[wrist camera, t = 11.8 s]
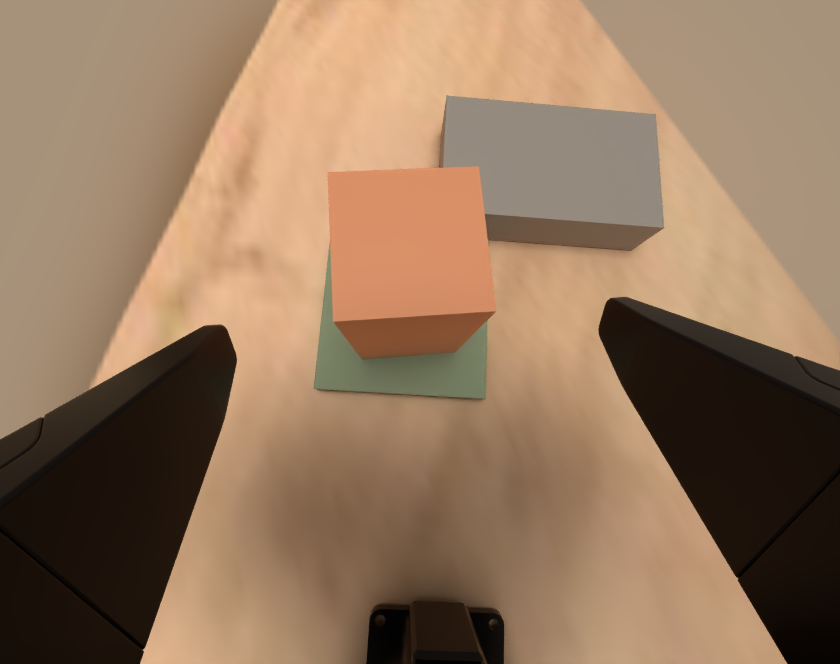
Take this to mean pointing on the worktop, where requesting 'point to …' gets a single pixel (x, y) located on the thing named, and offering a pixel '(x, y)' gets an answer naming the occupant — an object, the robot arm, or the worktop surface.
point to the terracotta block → (409, 259)
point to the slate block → (558, 171)
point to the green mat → (398, 364)
